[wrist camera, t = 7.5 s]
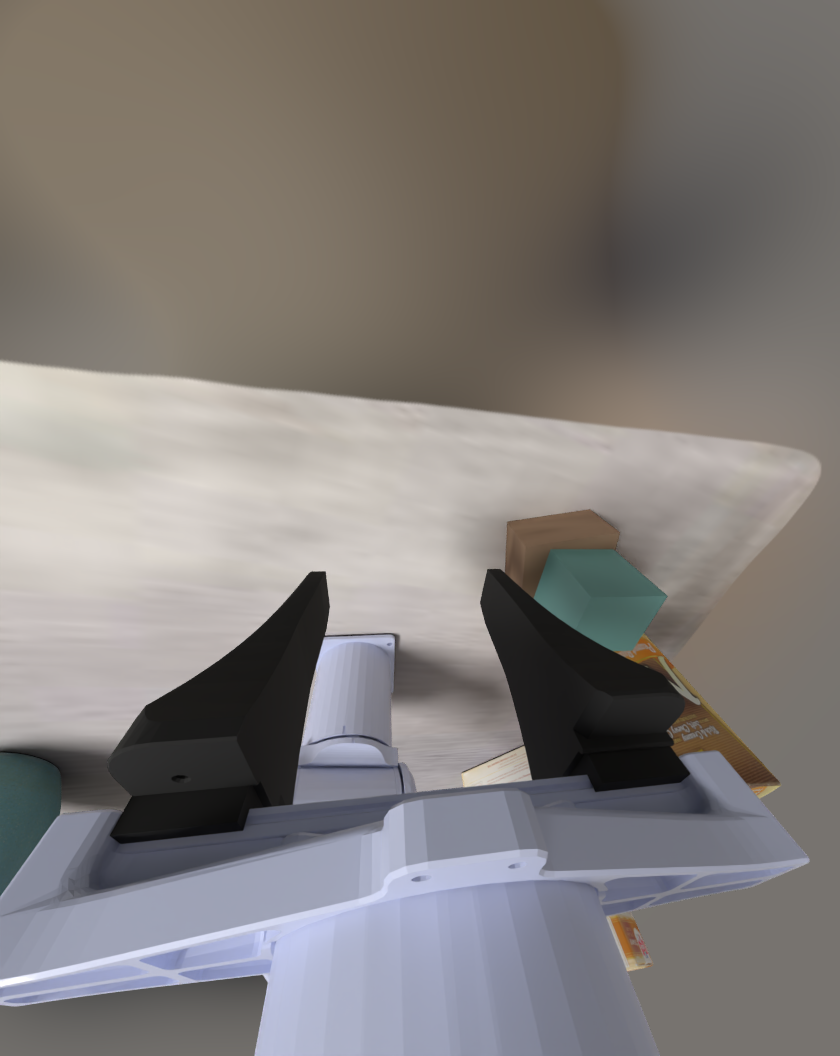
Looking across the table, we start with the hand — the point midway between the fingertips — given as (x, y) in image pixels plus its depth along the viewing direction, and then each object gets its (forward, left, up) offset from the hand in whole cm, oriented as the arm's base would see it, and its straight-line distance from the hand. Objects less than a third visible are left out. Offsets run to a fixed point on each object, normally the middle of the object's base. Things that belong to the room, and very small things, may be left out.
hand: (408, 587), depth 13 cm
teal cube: (-5, -14, -7) cm, 16 cm away
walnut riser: (-5, -13, -11) cm, 18 cm away
